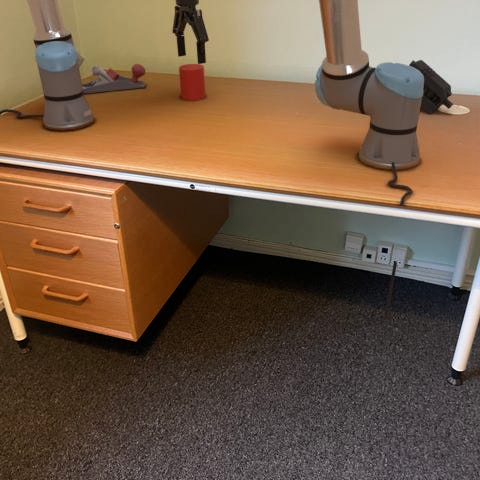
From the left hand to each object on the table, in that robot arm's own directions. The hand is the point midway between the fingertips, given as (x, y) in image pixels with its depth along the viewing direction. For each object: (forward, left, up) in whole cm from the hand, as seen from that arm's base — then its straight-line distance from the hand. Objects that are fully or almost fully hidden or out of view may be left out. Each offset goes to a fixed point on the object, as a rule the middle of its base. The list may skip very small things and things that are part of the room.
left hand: (191, 59), depth 182 cm
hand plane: (-35, -7, -13) cm, 38 cm away
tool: (+74, +21, -13) cm, 78 cm away
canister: (0, 0, -13) cm, 13 cm away
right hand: (+69, +12, +21) cm, 73 cm away
